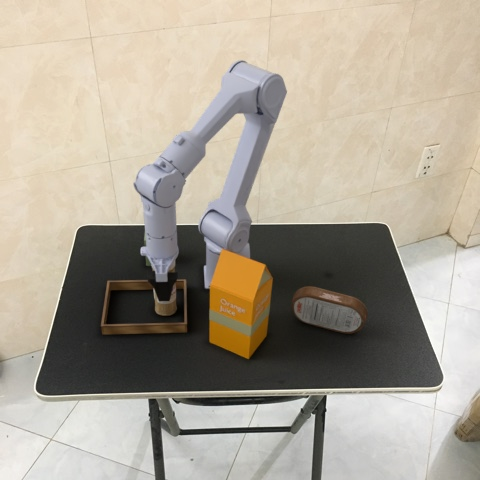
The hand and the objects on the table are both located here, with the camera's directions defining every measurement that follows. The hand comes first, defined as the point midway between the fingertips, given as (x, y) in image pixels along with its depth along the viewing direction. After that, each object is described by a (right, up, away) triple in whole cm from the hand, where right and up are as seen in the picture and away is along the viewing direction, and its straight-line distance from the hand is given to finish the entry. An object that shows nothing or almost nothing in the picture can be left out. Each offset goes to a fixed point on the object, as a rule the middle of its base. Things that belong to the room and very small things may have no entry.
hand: (164, 287), depth 109 cm
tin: (+32, -8, +3) cm, 33 cm away
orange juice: (+15, -10, -1) cm, 18 cm away
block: (-4, +7, +16) cm, 18 cm away
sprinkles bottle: (0, -4, +4) cm, 6 cm away
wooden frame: (-4, -4, +4) cm, 7 cm away
